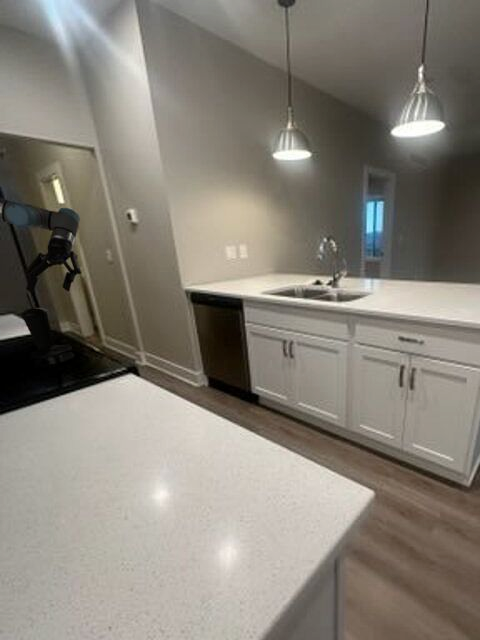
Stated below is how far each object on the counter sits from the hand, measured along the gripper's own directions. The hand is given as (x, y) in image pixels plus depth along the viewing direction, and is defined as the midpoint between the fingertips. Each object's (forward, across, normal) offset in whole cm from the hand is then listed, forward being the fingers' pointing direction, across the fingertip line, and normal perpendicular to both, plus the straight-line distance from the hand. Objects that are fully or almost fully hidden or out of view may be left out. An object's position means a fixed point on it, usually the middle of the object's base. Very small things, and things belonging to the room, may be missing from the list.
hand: (47, 290), depth 126 cm
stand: (+30, -13, +3) cm, 33 cm away
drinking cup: (+20, 0, -7) cm, 22 cm away
